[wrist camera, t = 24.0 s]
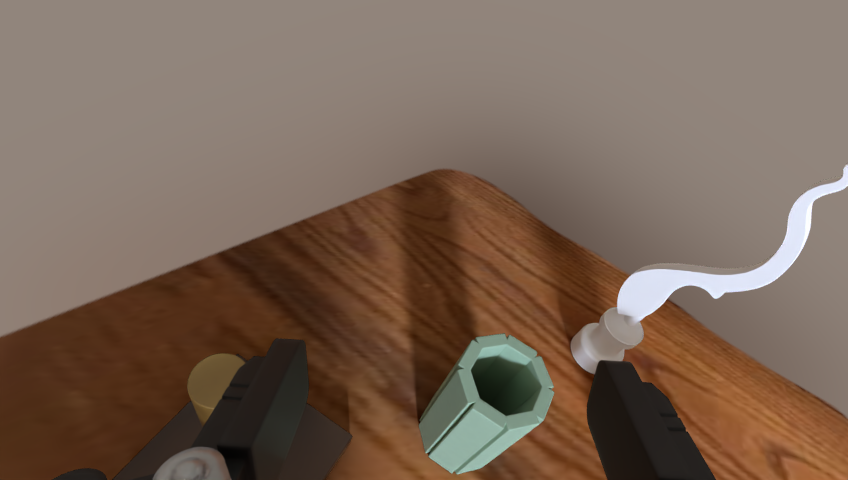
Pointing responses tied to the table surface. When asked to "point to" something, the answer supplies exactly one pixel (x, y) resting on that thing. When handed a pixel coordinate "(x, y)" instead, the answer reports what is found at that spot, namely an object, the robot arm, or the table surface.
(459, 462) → the octagonal pen holder
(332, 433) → the ring stand
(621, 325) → the decorative finial
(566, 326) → the table surface
